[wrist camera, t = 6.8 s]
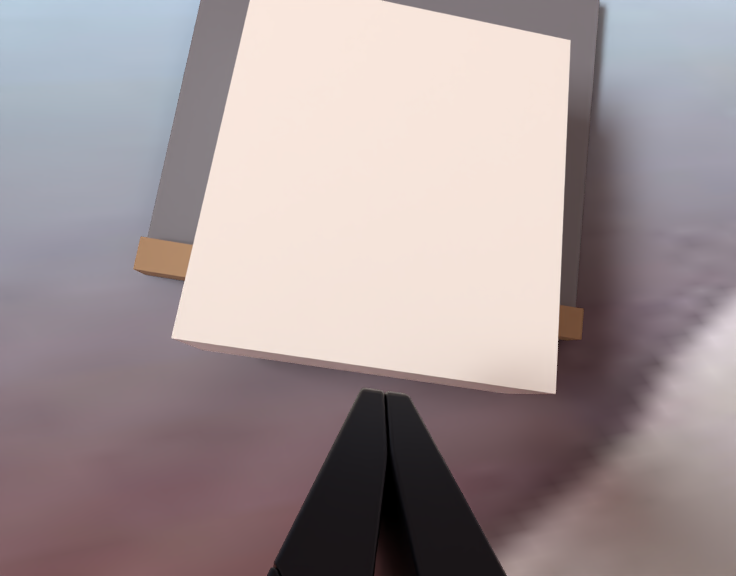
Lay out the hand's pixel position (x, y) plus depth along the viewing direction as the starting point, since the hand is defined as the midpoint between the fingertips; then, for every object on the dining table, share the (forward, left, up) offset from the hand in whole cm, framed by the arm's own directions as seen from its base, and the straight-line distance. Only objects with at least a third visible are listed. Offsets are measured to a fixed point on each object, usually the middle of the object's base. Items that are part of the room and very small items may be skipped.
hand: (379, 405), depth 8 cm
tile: (0, 0, -4) cm, 4 cm away
